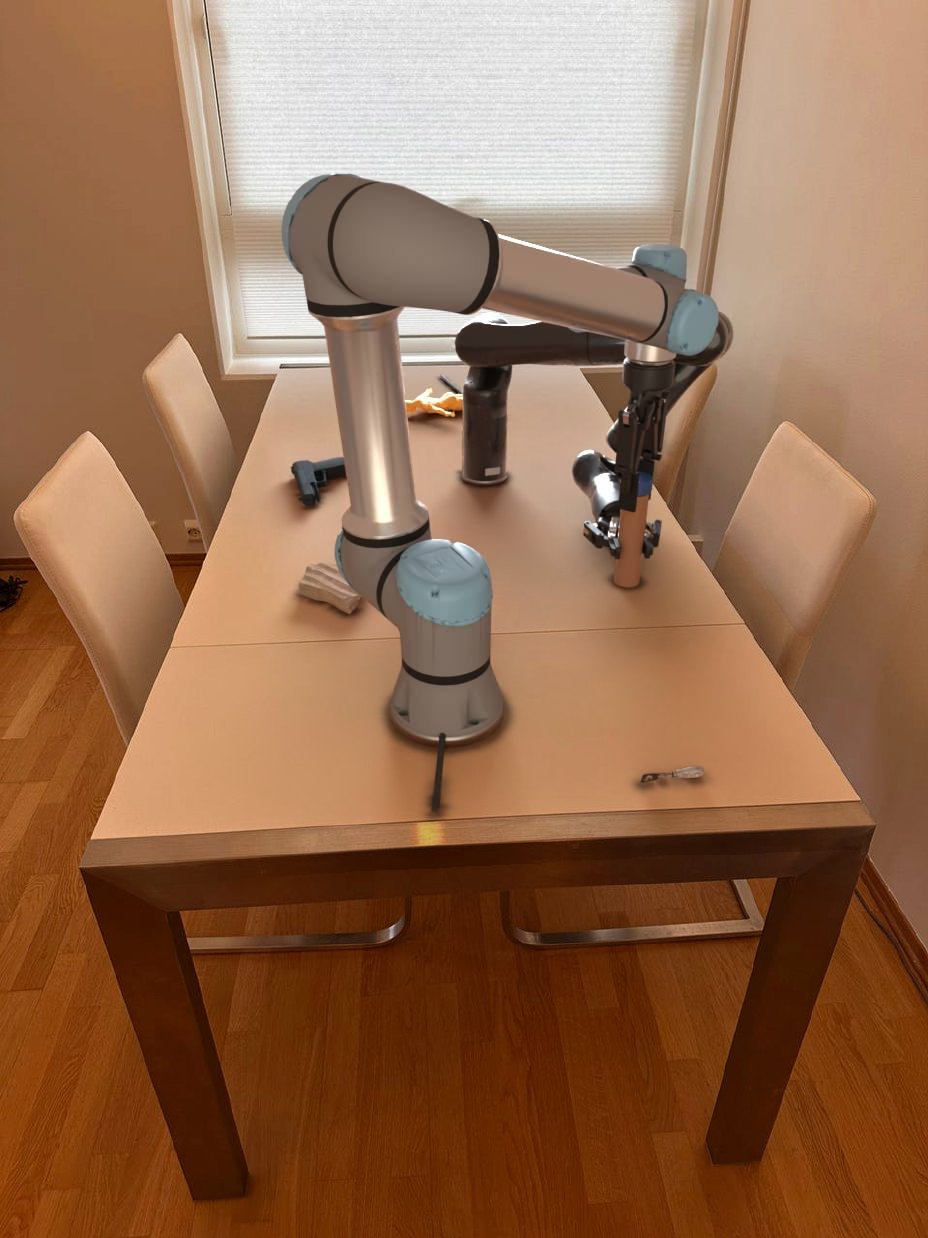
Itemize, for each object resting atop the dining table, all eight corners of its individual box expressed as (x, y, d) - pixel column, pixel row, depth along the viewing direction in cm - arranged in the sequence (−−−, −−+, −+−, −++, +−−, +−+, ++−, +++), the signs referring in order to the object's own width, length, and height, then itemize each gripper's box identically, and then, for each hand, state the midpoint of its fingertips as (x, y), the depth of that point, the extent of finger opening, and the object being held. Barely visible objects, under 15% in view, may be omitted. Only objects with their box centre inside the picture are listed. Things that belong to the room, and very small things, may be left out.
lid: (648, 483, 144) (649, 470, 143) (654, 496, 140) (655, 482, 139) (618, 483, 144) (619, 470, 143) (623, 496, 140) (624, 483, 139)
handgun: (359, 501, 179) (299, 508, 177) (345, 467, 193) (290, 474, 191) (358, 487, 178) (297, 493, 175) (344, 454, 192) (288, 460, 189)
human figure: (395, 413, 223) (394, 398, 221) (438, 390, 237) (438, 375, 235) (462, 429, 215) (462, 413, 213) (502, 404, 229) (503, 388, 227)
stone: (385, 581, 151) (385, 567, 150) (351, 615, 142) (350, 601, 141) (319, 567, 156) (318, 554, 154) (282, 600, 146) (280, 587, 145)
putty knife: (703, 777, 109) (705, 767, 109) (642, 788, 108) (644, 777, 107) (700, 772, 110) (702, 762, 109) (639, 782, 109) (640, 771, 108)
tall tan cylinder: (644, 583, 151) (656, 481, 141) (625, 590, 149) (635, 487, 139) (627, 572, 154) (638, 472, 144) (608, 579, 152) (617, 478, 142)
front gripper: (647, 378, 123) (631, 529, 136) (697, 348, 136) (678, 490, 148) (598, 369, 127) (587, 517, 139) (651, 341, 139) (637, 480, 152)
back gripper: (576, 490, 158) (591, 534, 143) (656, 489, 158) (679, 532, 144) (573, 529, 162) (588, 575, 147) (651, 527, 162) (674, 573, 148)
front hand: (634, 503), depth 144 cm, fingers closed on lid, 5 cm apart
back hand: (633, 553), depth 145 cm, fingers closed on tall tan cylinder, 4 cm apart
